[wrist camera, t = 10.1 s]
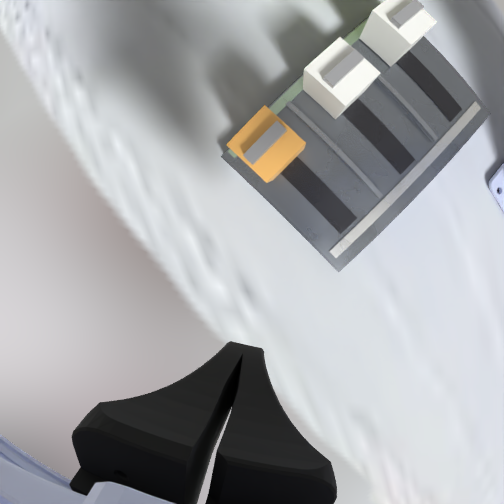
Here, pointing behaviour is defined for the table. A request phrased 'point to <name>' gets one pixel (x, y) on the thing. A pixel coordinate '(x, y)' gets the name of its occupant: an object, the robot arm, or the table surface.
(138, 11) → the table surface
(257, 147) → the breaker orange
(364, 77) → the white breaker
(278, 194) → the panel
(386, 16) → the white breaker
